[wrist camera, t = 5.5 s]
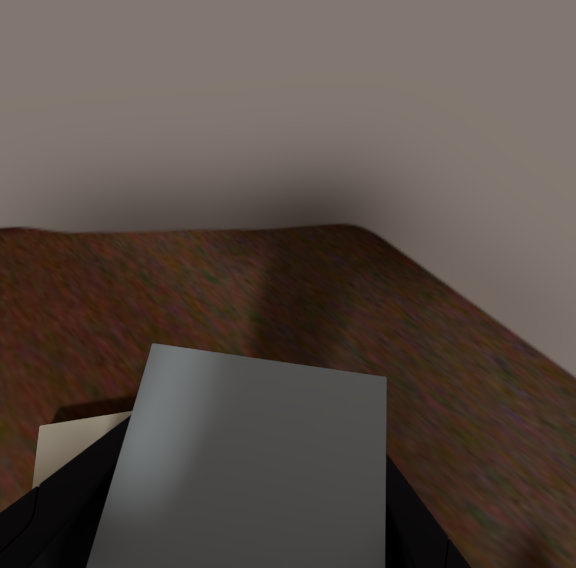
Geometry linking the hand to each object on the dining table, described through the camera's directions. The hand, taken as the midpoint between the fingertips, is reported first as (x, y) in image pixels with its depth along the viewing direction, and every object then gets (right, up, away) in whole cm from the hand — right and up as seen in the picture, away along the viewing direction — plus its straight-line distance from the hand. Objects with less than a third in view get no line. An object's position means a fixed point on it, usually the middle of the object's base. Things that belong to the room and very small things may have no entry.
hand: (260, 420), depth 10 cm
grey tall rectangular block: (-1, -4, +6) cm, 7 cm away
